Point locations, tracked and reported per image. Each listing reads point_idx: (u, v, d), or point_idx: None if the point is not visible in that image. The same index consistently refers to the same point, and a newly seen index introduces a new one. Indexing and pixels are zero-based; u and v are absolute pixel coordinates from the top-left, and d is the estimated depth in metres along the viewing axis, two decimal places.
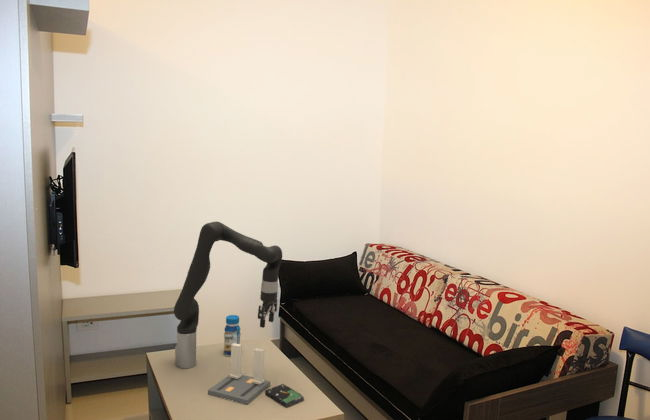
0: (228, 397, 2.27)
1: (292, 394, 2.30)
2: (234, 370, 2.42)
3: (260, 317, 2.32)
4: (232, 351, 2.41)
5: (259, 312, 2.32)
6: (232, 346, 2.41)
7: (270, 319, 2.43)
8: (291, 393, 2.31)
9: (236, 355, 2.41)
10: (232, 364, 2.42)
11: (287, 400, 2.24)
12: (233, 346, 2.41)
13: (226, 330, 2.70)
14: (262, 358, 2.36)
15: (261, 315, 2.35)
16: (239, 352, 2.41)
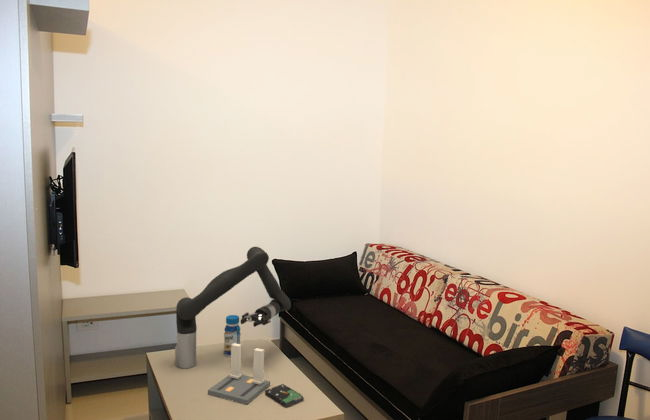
0: (228, 397, 2.27)
1: (292, 394, 2.30)
2: (234, 370, 2.42)
3: (264, 322, 2.52)
4: (232, 351, 2.41)
5: (267, 320, 2.53)
6: (232, 346, 2.41)
7: (243, 321, 2.52)
8: (291, 393, 2.31)
9: (236, 355, 2.41)
10: (232, 364, 2.42)
11: (287, 400, 2.24)
12: (233, 346, 2.41)
13: (226, 330, 2.70)
14: (262, 358, 2.36)
15: None
16: (239, 352, 2.41)
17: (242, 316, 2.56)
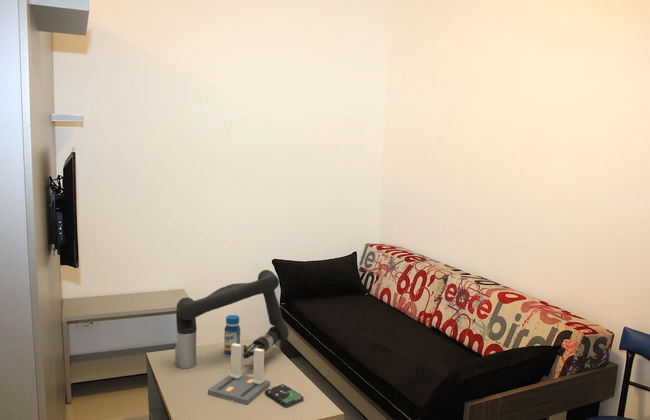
0: (228, 397, 2.27)
1: (292, 394, 2.30)
2: (234, 370, 2.42)
3: None
4: (232, 351, 2.41)
5: None
6: (232, 346, 2.41)
7: None
8: (291, 393, 2.30)
9: (236, 355, 2.41)
10: (232, 364, 2.42)
11: (287, 400, 2.24)
12: (233, 346, 2.41)
13: (226, 330, 2.70)
14: (262, 358, 2.36)
15: None
16: (239, 352, 2.41)
17: (245, 350, 2.54)
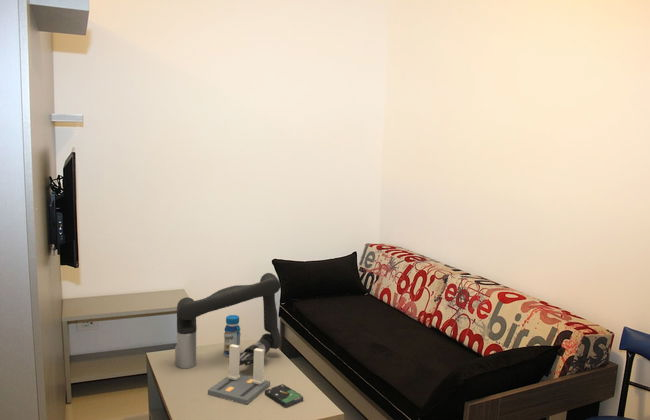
0: (228, 397, 2.27)
1: (292, 394, 2.30)
2: (232, 372, 2.41)
3: (247, 362, 2.46)
4: (230, 352, 2.40)
5: (251, 360, 2.47)
6: (230, 347, 2.40)
7: None
8: (291, 393, 2.30)
9: (234, 356, 2.39)
10: (230, 365, 2.41)
11: (286, 400, 2.24)
12: (231, 347, 2.40)
13: (226, 330, 2.70)
14: (262, 358, 2.36)
15: None
16: (237, 353, 2.40)
17: None
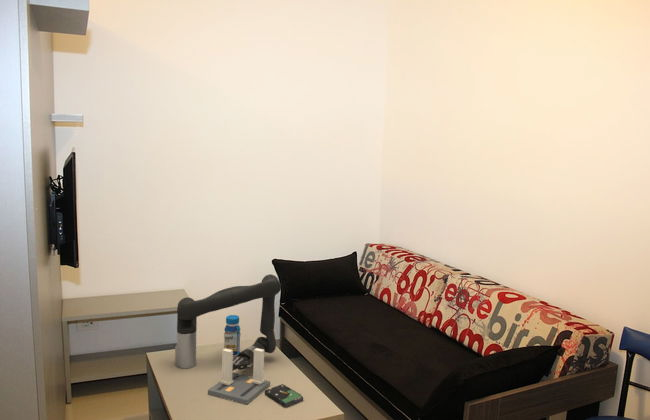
0: (228, 397, 2.27)
1: (291, 394, 2.30)
2: (225, 377, 2.36)
3: (240, 367, 2.41)
4: (223, 357, 2.35)
5: (245, 365, 2.42)
6: (223, 351, 2.35)
7: None
8: (291, 393, 2.30)
9: (227, 361, 2.34)
10: (223, 370, 2.36)
11: (286, 400, 2.24)
12: (224, 351, 2.34)
13: (226, 330, 2.70)
14: (262, 358, 2.36)
15: None
16: (230, 358, 2.34)
17: None
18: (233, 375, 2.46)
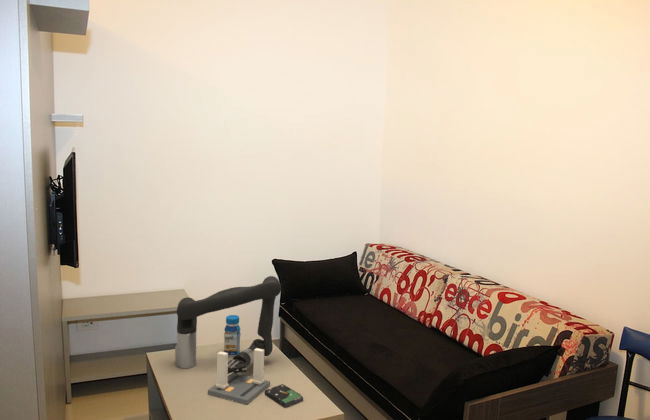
0: (228, 397, 2.27)
1: (291, 394, 2.30)
2: (220, 380, 2.32)
3: (236, 370, 2.38)
4: (218, 360, 2.31)
5: (240, 368, 2.38)
6: (218, 355, 2.31)
7: None
8: (291, 393, 2.30)
9: (222, 364, 2.31)
10: (218, 373, 2.32)
11: (286, 400, 2.24)
12: (219, 355, 2.31)
13: (226, 330, 2.70)
14: (262, 358, 2.36)
15: None
16: (225, 361, 2.31)
17: None
18: (233, 375, 2.46)
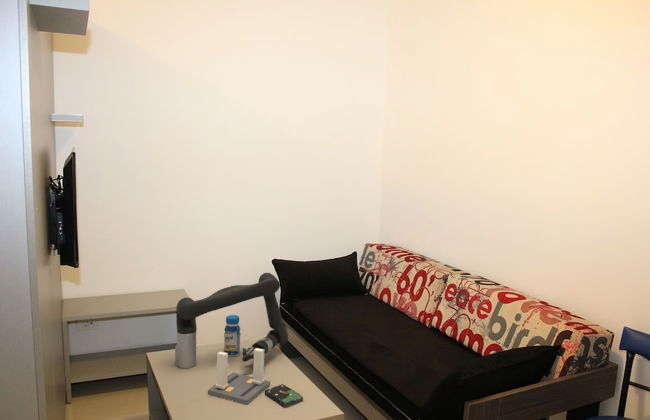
0: (228, 397, 2.27)
1: (291, 394, 2.30)
2: (220, 380, 2.32)
3: None
4: (218, 360, 2.31)
5: None
6: (218, 355, 2.31)
7: None
8: (291, 393, 2.30)
9: (222, 364, 2.31)
10: (218, 373, 2.32)
11: (286, 400, 2.24)
12: (219, 355, 2.31)
13: (226, 330, 2.70)
14: (262, 358, 2.36)
15: None
16: (225, 361, 2.31)
17: (244, 353, 2.54)
18: (233, 375, 2.46)
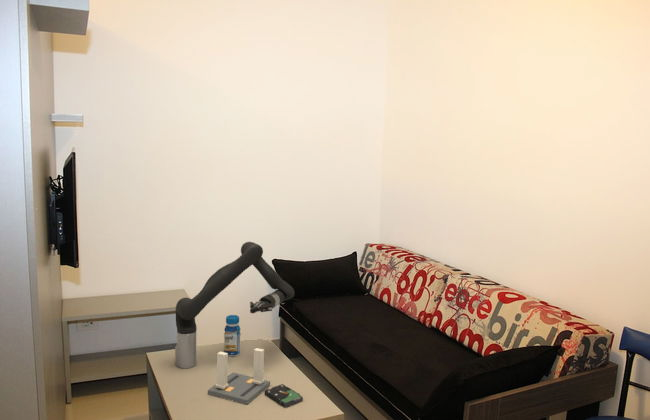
0: (228, 397, 2.27)
1: (291, 394, 2.29)
2: (220, 380, 2.32)
3: (262, 309, 2.56)
4: (218, 360, 2.31)
5: (266, 308, 2.56)
6: (218, 355, 2.31)
7: None
8: (291, 393, 2.30)
9: (222, 364, 2.31)
10: (218, 373, 2.32)
11: (286, 400, 2.24)
12: (219, 355, 2.31)
13: (226, 330, 2.70)
14: (262, 358, 2.36)
15: None
16: (225, 361, 2.31)
17: (251, 305, 2.57)
18: (233, 375, 2.46)
